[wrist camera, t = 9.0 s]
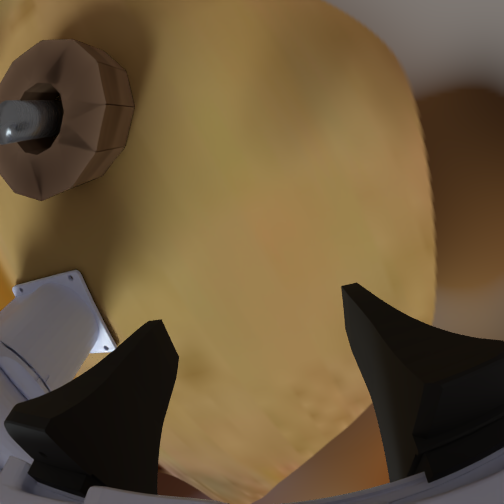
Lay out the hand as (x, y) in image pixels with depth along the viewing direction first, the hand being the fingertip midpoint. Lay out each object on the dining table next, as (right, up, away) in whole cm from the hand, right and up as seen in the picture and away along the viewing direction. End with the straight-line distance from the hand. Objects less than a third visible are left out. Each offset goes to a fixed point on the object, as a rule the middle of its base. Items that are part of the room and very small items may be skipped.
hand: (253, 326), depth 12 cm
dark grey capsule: (-13, +12, +6) cm, 18 cm away
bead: (-13, +12, +6) cm, 19 cm away
